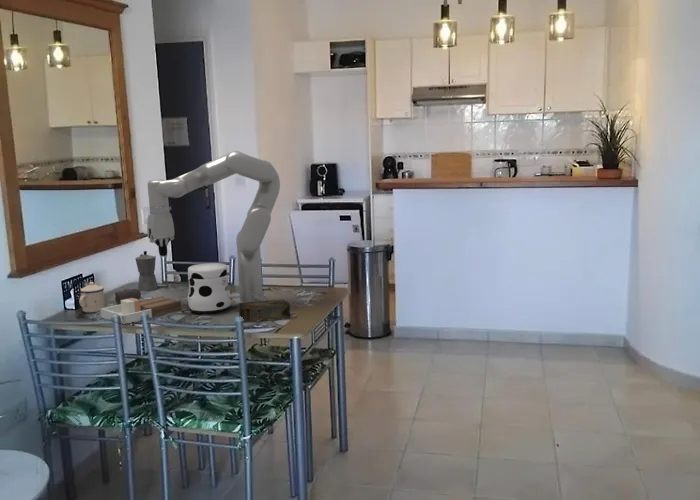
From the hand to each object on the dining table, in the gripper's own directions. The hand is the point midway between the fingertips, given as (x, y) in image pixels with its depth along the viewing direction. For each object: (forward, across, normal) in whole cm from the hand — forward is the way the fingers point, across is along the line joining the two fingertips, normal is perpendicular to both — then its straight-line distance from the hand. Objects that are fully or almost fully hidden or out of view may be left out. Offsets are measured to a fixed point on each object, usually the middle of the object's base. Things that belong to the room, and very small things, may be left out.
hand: (163, 255), depth 267 cm
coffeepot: (+22, -15, -42) cm, 49 cm away
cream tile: (+18, +16, 0) cm, 25 cm away
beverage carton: (+23, -14, +44) cm, 52 cm away
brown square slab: (+22, +5, 0) cm, 23 cm away
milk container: (+23, -9, +17) cm, 30 cm away
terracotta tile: (+18, +14, 0) cm, 23 cm away
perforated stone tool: (+22, +7, -19) cm, 30 cm away
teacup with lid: (+22, +22, -22) cm, 38 cm away
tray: (+22, +19, 0) cm, 29 cm away
